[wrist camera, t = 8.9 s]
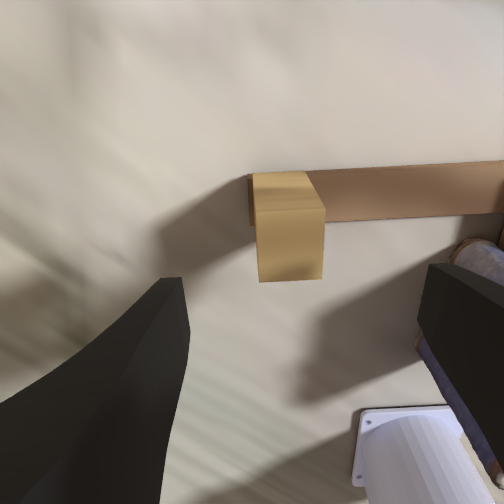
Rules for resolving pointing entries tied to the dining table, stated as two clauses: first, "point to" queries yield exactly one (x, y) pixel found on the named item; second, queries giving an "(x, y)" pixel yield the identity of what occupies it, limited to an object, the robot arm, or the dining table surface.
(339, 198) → the wooden t-shaped handle
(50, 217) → the dining table surface
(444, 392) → the flask
